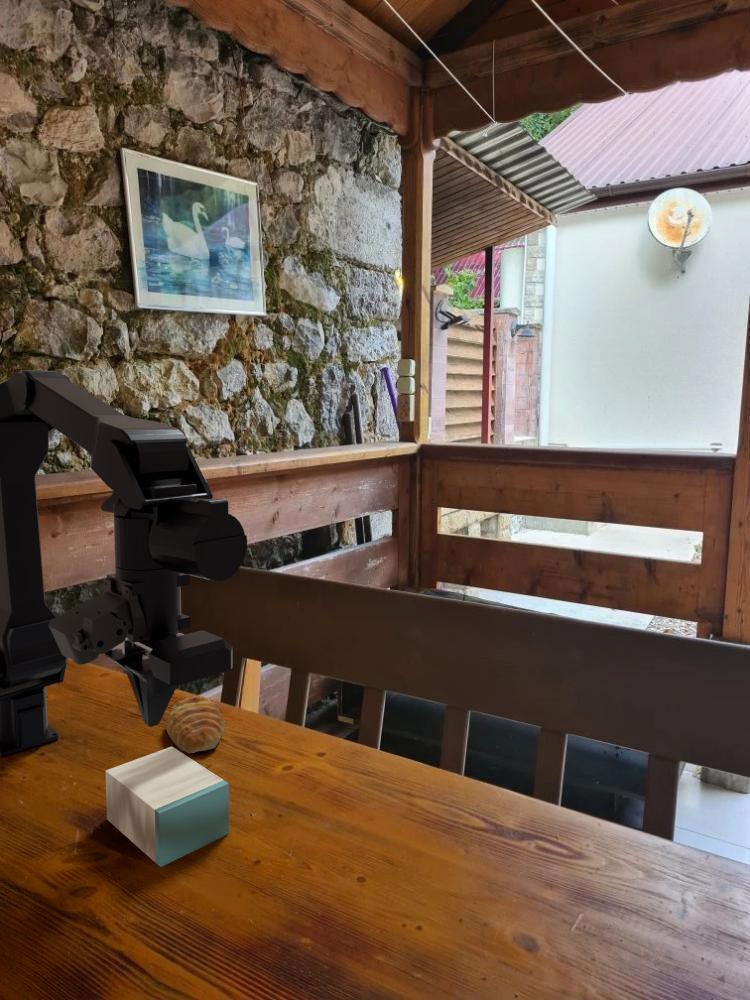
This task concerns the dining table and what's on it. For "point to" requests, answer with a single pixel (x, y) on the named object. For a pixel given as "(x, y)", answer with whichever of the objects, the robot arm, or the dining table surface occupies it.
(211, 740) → the pastry
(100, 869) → the dining table surface
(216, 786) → the birch block
